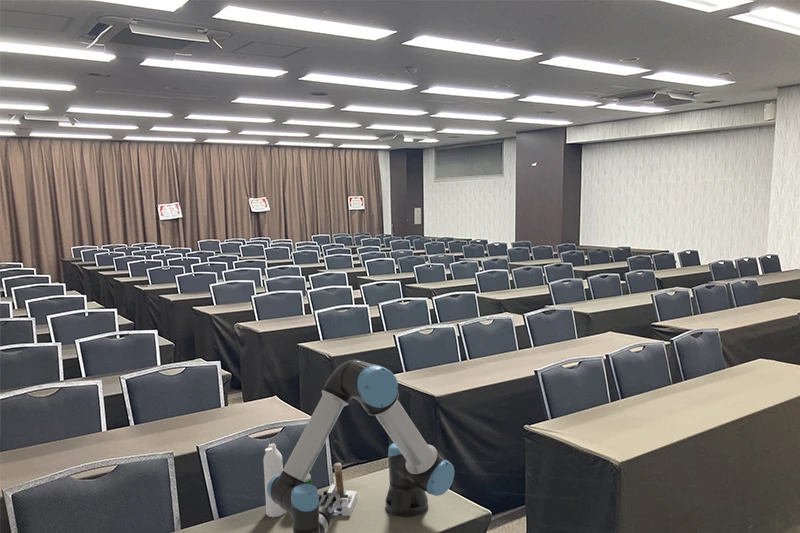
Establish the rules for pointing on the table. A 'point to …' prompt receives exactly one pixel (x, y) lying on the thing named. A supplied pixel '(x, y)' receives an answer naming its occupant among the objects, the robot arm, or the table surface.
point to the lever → (339, 480)
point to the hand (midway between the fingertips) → (334, 487)
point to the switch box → (347, 503)
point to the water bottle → (270, 470)
